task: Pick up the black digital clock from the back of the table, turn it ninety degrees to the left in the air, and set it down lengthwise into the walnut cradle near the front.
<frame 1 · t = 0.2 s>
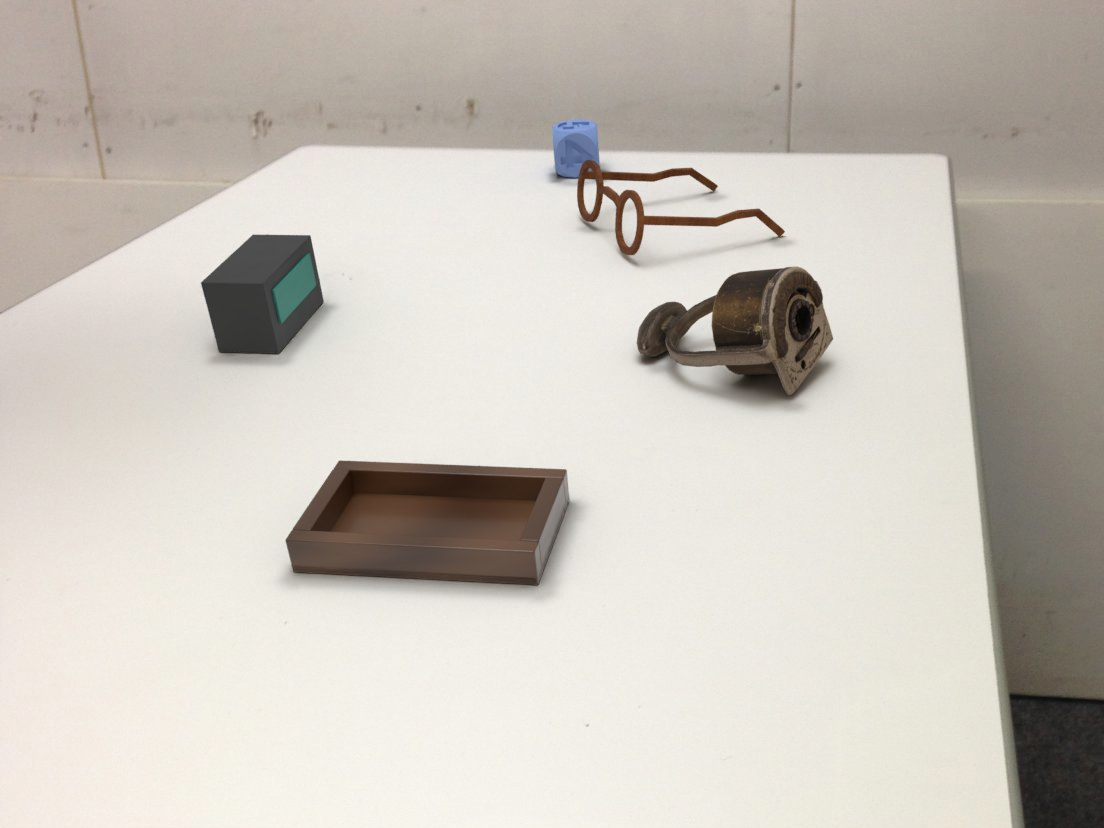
antique brass mechanism: (735, 365, 84), on the table
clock: (273, 326, 91), on the table
cradle: (435, 535, 68), on the table
glasses: (678, 229, 104), on the table
decorative dice: (578, 173, 117), on the table
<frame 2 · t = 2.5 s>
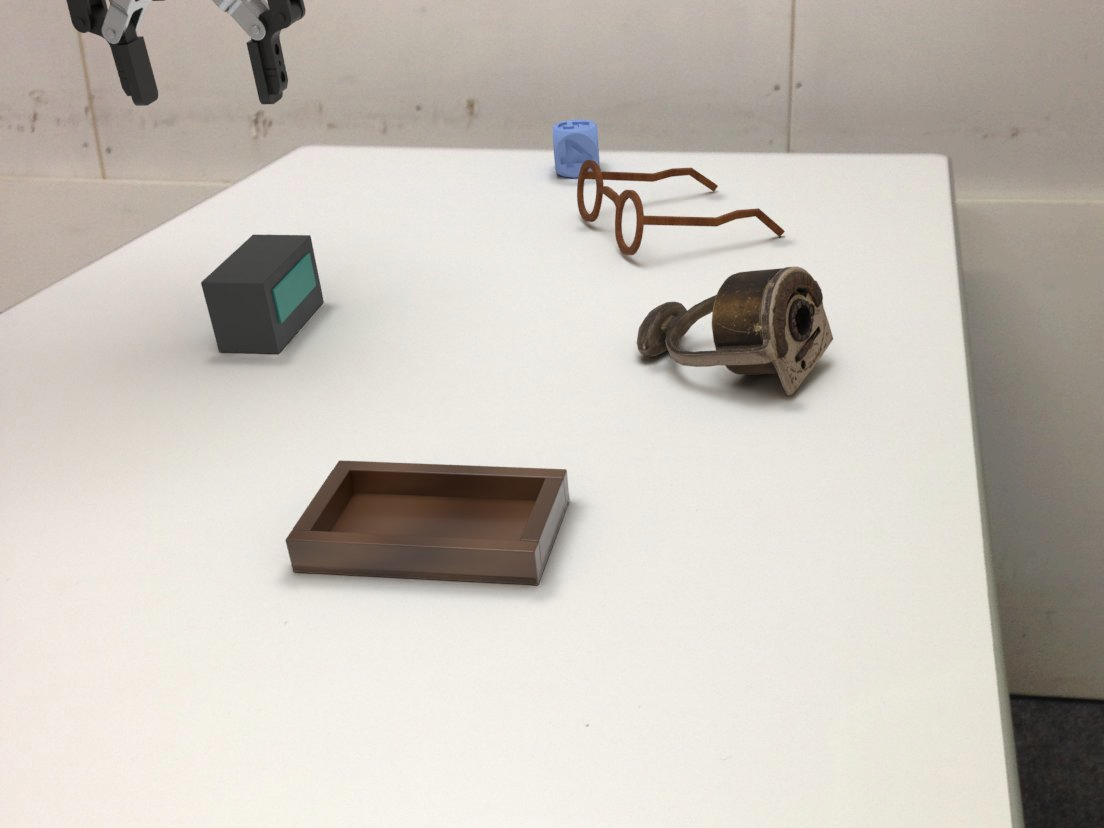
hand: (209, 102, 81), 16 cm above the table, tool pointing down, fingers open, 8 cm apart
nothing on the table moved.
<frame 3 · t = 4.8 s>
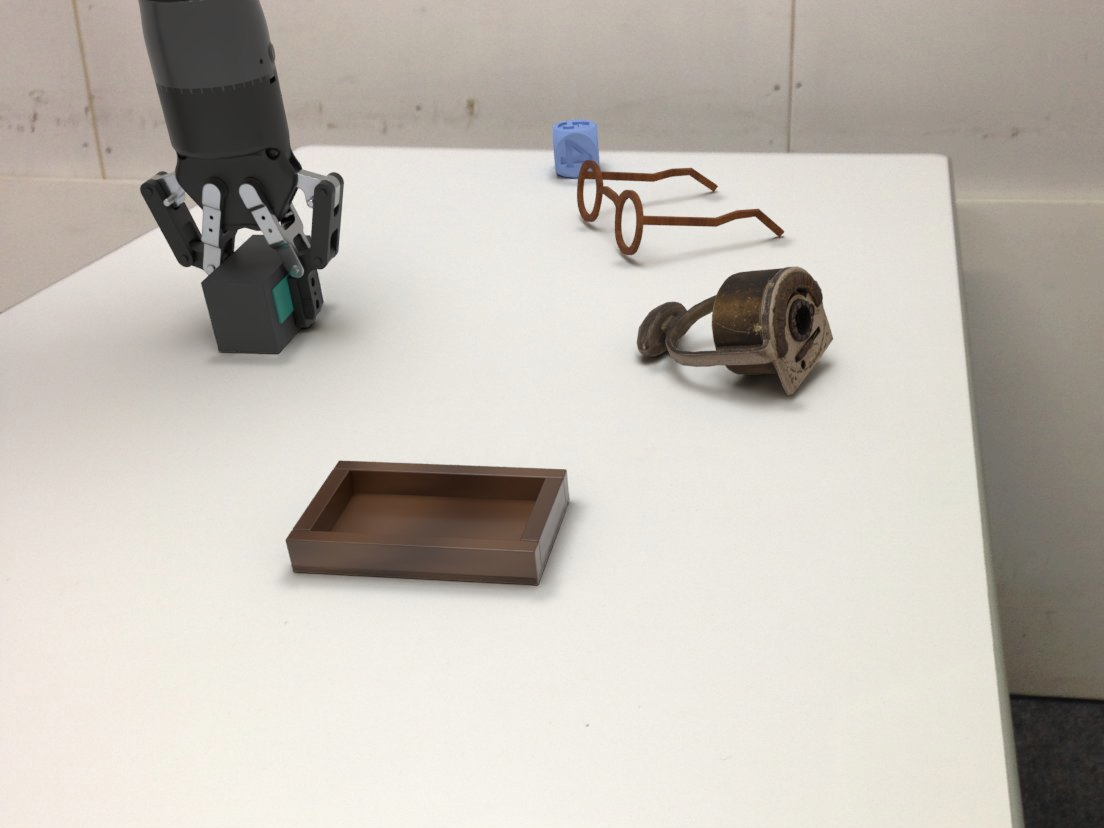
hand: (273, 321, 91), 0 cm above the table, tool pointing down, fingers closed on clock, 4 cm apart
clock: (273, 326, 91), on the table, touching gripper
everything else where it was.
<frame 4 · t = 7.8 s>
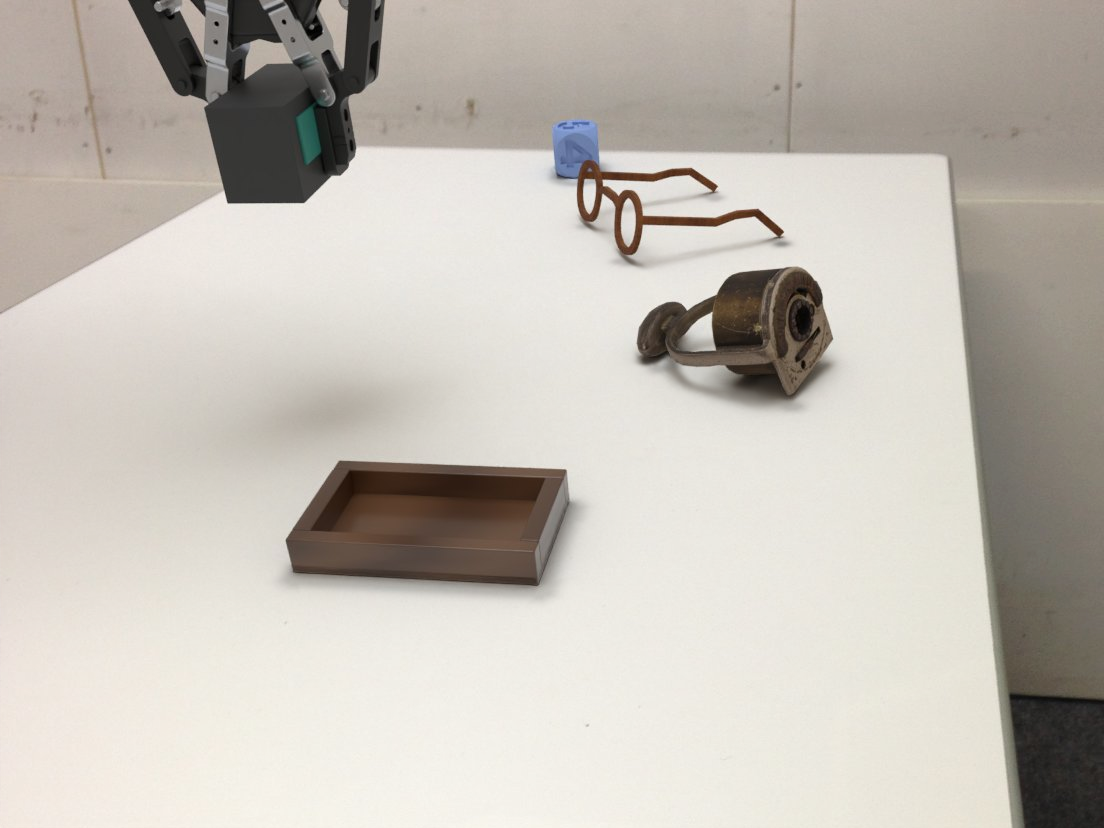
hand: (294, 170, 72), 15 cm above the table, tool pointing down, fingers closed on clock, 4 cm apart
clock: (294, 177, 72), point 14 cm above the table, touching gripper
everything else where it was.
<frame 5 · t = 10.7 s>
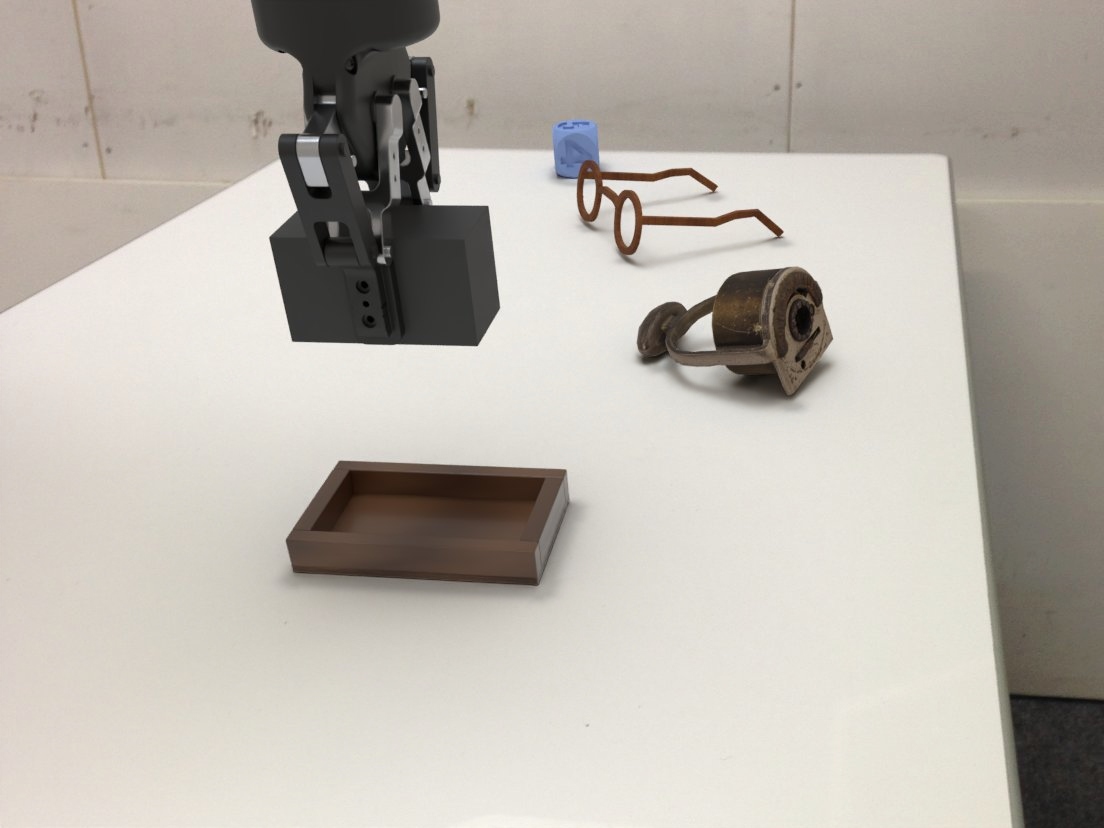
hand: (398, 316, 61), 12 cm above the table, tool pointing down, fingers closed on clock, 4 cm apart
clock: (398, 325, 61), point 12 cm above the table, touching gripper
everything else where it was.
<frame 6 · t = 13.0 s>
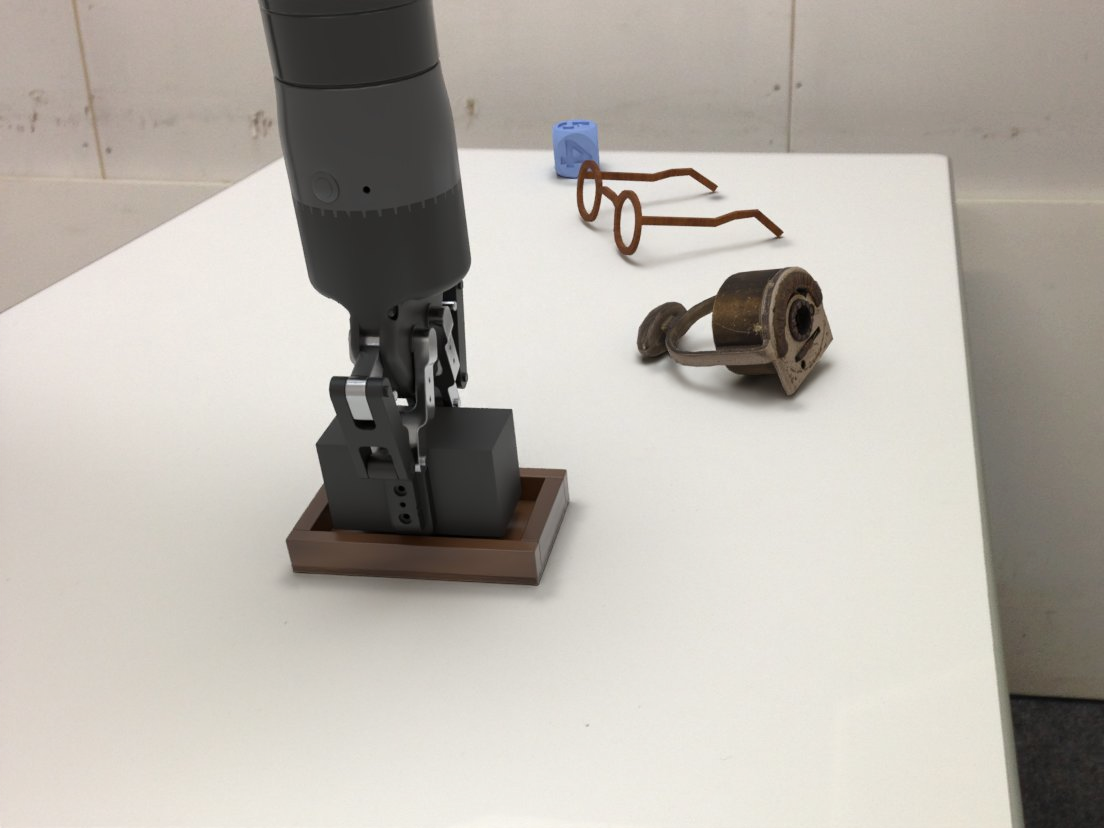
hand: (429, 504, 67), 2 cm above the table, tool pointing down, fingers closed on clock, 4 cm apart
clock: (429, 511, 67), point 2 cm above the table, touching gripper
everything else where it was.
when the fingers open (2 cm above the table, at t = 16.8 s): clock drops 1 cm, resting on cradle.
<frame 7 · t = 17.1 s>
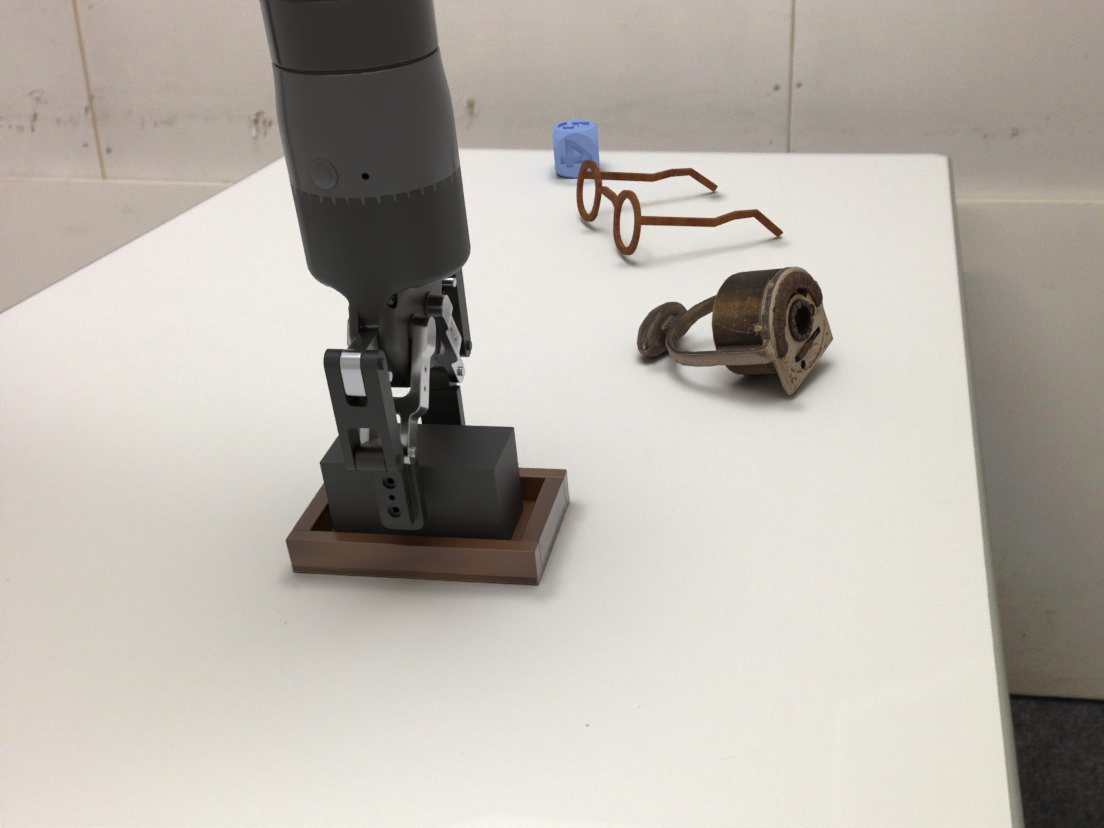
hand: (427, 485, 66), 3 cm above the table, tool pointing down, fingers open, 7 cm apart
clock: (432, 527, 68), resting on cradle
everything else where it was.
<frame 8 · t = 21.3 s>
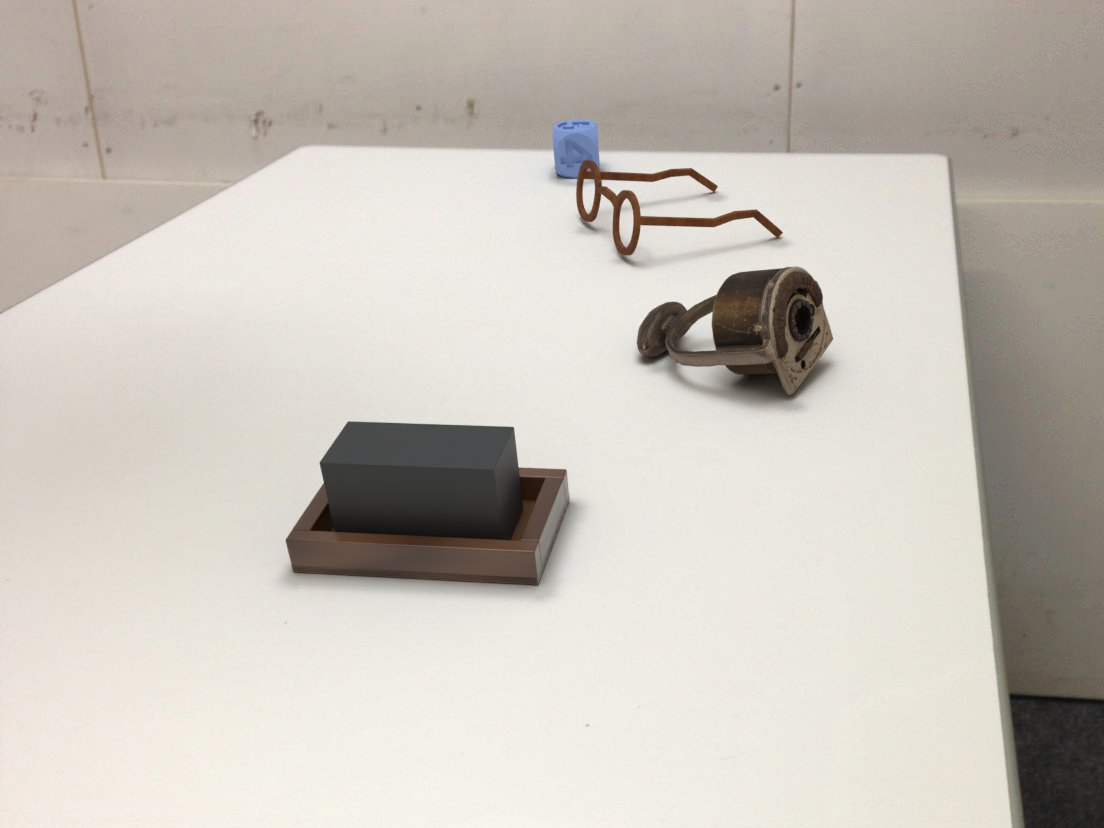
nothing on the table moved.
at the end: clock 0.1 cm off-centre on the cradle, point 0.5 cm above the cradle's base; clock tilted 0° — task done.
